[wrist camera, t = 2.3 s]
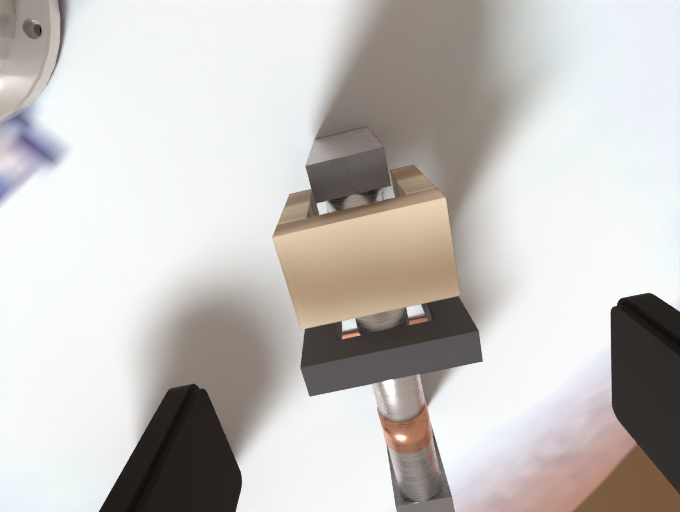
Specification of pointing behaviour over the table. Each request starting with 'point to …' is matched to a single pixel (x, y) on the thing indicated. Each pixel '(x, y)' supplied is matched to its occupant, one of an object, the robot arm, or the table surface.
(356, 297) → the sleeve
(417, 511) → the grey long flanged piece
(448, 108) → the table surface
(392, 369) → the dark grey u-shaped piece
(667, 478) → the robot arm
